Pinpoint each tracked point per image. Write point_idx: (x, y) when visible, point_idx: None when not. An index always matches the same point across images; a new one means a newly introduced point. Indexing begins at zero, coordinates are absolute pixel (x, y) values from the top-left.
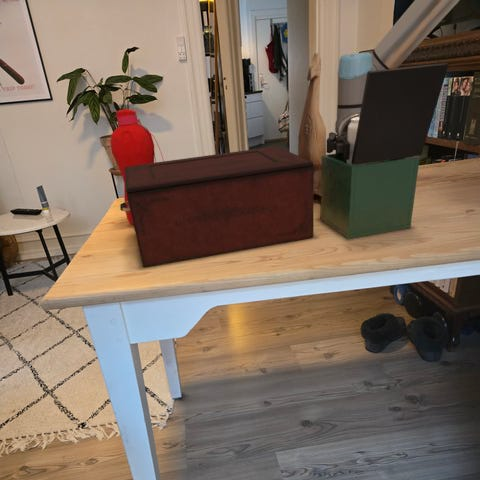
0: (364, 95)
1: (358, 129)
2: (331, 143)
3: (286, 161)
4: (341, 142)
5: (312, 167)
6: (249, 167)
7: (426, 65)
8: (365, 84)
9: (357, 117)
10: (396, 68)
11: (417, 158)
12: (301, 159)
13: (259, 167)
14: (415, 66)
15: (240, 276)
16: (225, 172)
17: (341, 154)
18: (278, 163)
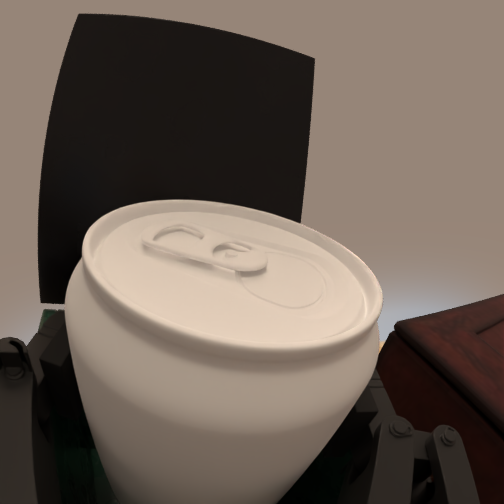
0: (308, 107)
1: (299, 195)
2: (422, 433)
3: (460, 332)
4: (373, 420)
5: (392, 332)
6: (490, 313)
7: (144, 18)
8: (312, 84)
9: (349, 332)
10: (238, 35)
11: (52, 312)
12: (441, 346)
13: (475, 311)
14: (180, 23)
15: (380, 343)
16: (497, 302)
17: (342, 470)
18: (464, 323)
